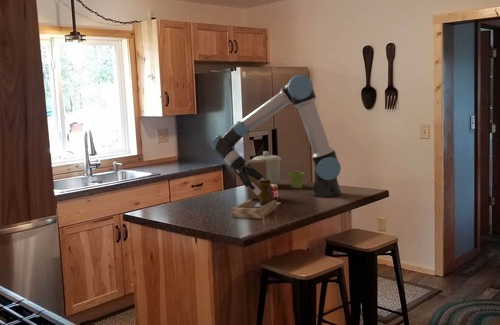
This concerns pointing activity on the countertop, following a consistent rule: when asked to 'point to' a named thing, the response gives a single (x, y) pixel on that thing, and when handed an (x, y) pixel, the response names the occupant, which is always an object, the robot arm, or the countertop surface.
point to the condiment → (265, 192)
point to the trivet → (261, 205)
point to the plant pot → (296, 179)
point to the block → (262, 169)
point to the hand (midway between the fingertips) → (264, 191)
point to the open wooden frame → (252, 210)
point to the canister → (271, 166)
